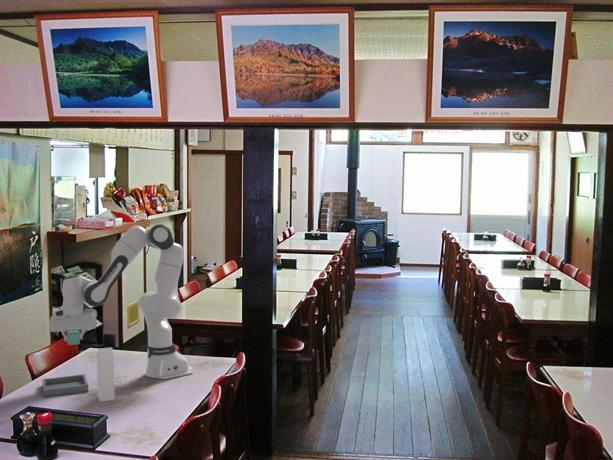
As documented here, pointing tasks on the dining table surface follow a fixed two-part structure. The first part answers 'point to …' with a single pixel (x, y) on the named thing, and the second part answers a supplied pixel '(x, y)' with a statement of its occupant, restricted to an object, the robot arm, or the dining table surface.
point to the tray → (65, 385)
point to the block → (73, 337)
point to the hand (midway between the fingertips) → (73, 339)
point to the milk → (105, 374)
